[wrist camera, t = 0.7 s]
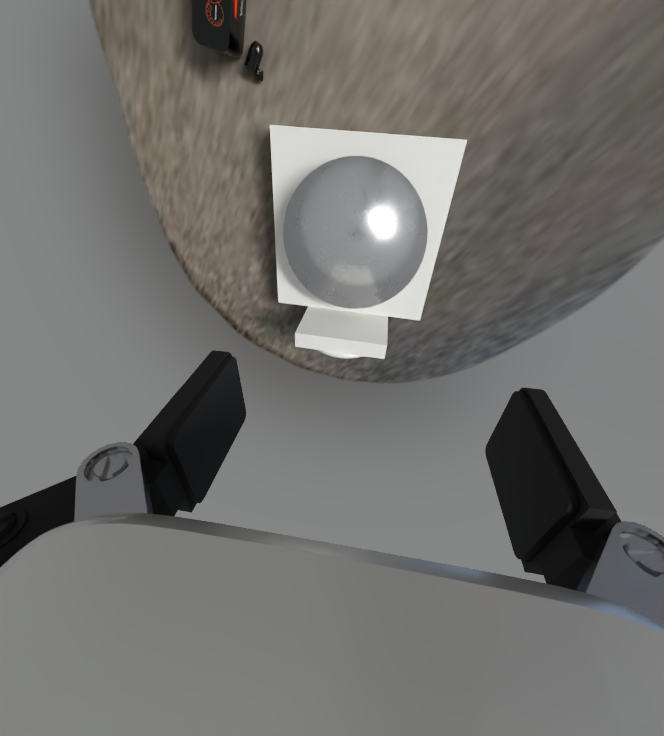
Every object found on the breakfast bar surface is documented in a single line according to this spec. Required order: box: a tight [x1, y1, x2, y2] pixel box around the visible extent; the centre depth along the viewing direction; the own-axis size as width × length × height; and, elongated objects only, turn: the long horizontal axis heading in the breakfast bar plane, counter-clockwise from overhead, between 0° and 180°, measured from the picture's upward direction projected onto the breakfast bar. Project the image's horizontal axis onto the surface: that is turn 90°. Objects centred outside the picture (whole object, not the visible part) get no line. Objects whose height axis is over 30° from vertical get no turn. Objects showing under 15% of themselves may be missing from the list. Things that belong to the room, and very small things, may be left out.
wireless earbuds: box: [192, 0, 263, 81], centre depth 23 cm, size 5×7×3 cm, turn 165°
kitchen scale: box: [270, 125, 467, 359], centre depth 29 cm, size 18×16×9 cm
